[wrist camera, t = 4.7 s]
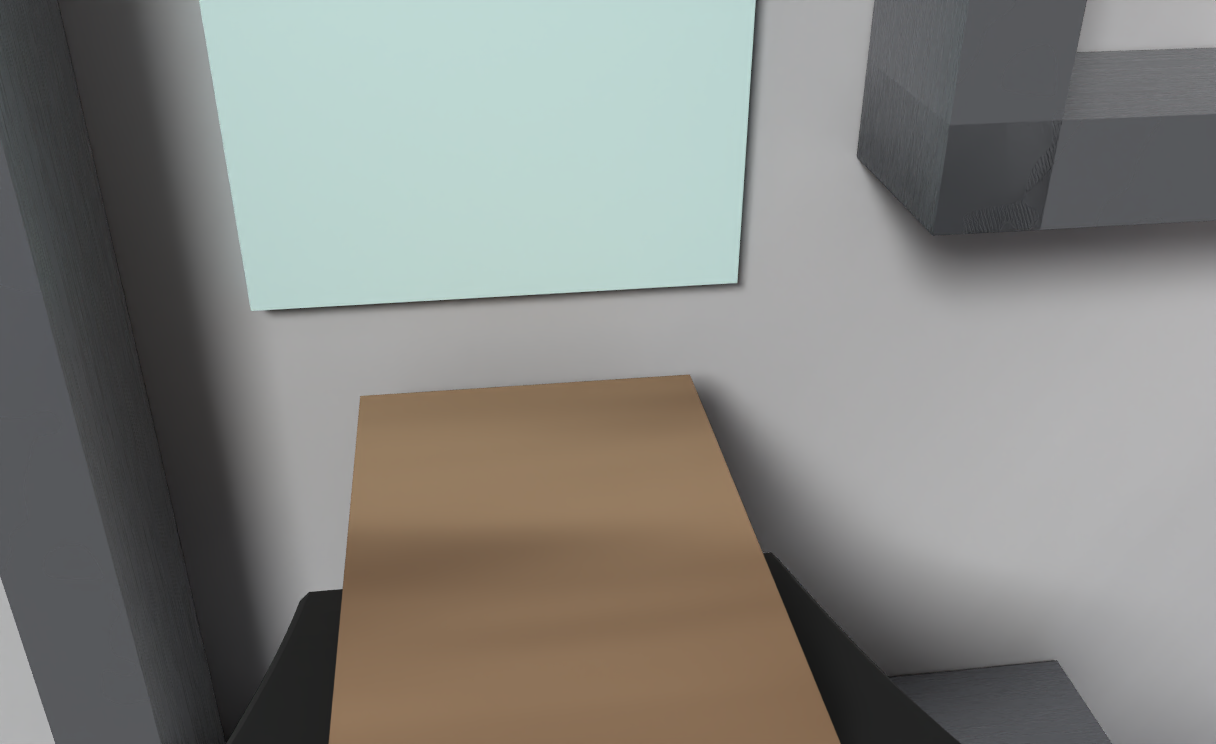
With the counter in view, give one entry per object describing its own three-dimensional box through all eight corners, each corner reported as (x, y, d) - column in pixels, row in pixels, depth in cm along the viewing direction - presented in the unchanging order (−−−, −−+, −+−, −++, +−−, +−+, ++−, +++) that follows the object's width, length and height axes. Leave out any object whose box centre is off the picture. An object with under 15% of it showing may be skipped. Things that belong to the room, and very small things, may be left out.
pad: (732, 273, 15) (737, 282, 15) (254, 299, 14) (251, 310, 14) (764, -255, 12) (772, -255, 12) (161, -256, 11) (155, -255, 11)
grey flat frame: (1043, 712, 20) (1118, 833, 18) (159, 807, 18) (124, 954, 16) (1312, -308, 12) (1497, -311, 10) (-151, -318, 11) (-295, -322, 9)
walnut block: (678, 623, 16) (798, 1044, 11) (388, 649, 16) (374, 1103, 11) (689, 374, 14) (841, 744, 9) (360, 396, 14) (324, 800, 9)
